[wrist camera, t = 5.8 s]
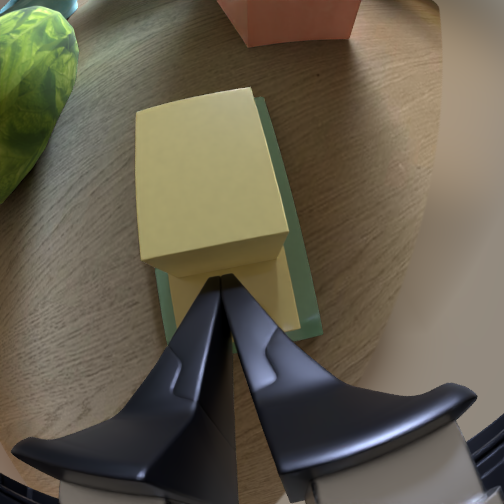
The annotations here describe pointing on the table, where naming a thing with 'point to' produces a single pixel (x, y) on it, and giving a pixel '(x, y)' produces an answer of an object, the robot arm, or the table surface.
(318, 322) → the butter dish
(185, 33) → the table surface
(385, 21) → the table surface
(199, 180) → the butter slab
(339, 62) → the table surface
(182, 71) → the table surface
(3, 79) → the lettuce
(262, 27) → the house
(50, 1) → the flower pot
